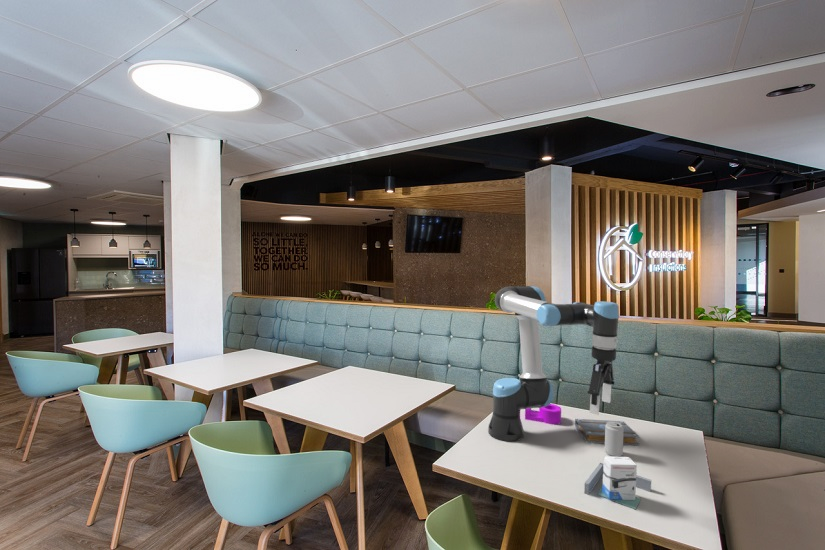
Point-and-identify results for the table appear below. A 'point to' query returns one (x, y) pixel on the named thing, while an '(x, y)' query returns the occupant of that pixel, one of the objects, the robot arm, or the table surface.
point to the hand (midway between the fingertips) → (600, 407)
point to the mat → (627, 503)
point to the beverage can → (614, 439)
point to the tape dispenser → (545, 414)
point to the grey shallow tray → (603, 431)
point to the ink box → (619, 478)
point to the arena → (598, 472)
